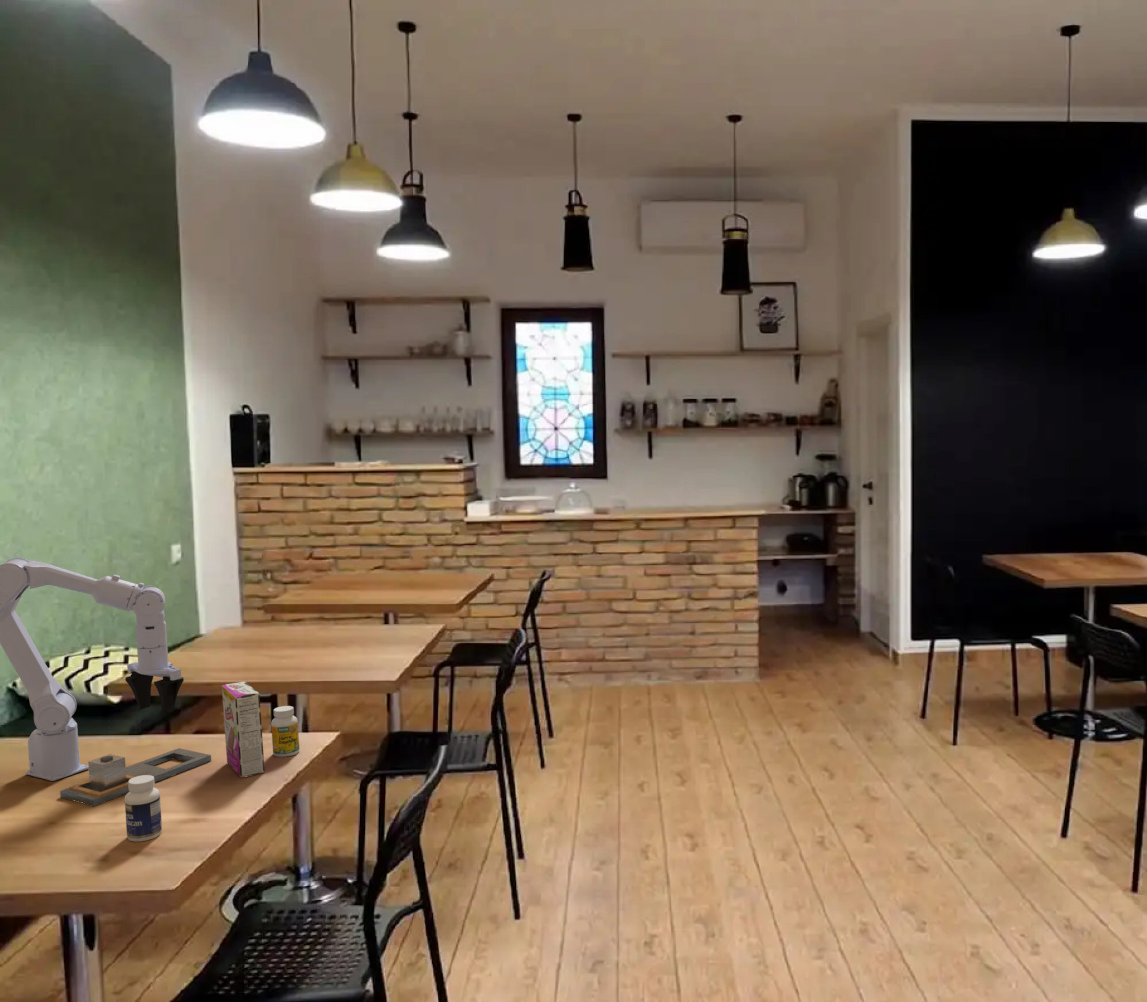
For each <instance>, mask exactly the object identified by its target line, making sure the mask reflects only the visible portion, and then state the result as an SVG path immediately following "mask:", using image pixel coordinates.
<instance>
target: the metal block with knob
mask: <svg viewBox="0 0 1147 1002" xmlns="http://www.w3.org/2000/svg"><path fill="white" fill-rule="evenodd" d="M87 764H88V766H89V769H88V777H89V779H88V780H90V790H94V791H98V792H103V791H105V790H108V789H111V788H113V787H116V786H119V785H121V784H124V783H126V782H127V781H126V767H127V766H126V757H124V756H121V755H120V756H119V755H115V754H111V753H109V754H107V755H102V756H101V757H97V758H95V759H92V760H88V762H87Z"/></svg>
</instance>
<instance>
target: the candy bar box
mask: <svg viewBox="0 0 1147 1002" xmlns="http://www.w3.org/2000/svg"><path fill="white" fill-rule="evenodd" d="M221 696H222V709H223V710H222V712H223V721H224V735H225V736H224V737H225V750H226V763H227V764H228V765H229V766H230V767H231V768H232V769H233V770H234V772H235V773H237V775H238V776H239V775H240V776H239V777H240V778H241V777H243V778H246V777H245V776H249V777H251V776H250V775H253V776H255V775H254V774H257V775H260V774H263V773H265V772H266V771H265V757H264V743H263V740H264V739H263V727H262V725H263V724H262V713H261V712H262V711H261V699H260V697H261V694H260V692H259V691H257V690H256V689H255V688H253V687H252V686H251V685H250V684H248V682H246V681H245V680H244V681H237V682H231V683H226V684H222V685H221Z"/></svg>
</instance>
